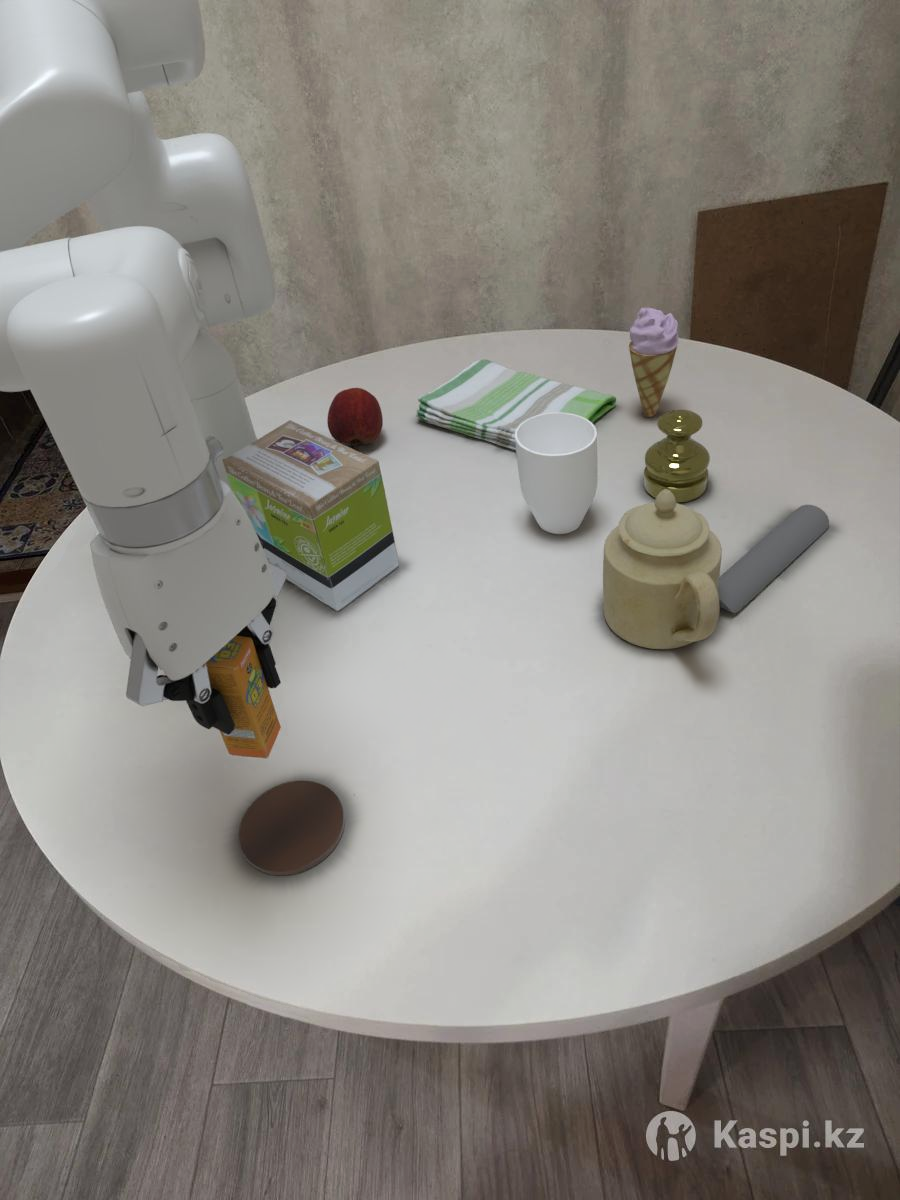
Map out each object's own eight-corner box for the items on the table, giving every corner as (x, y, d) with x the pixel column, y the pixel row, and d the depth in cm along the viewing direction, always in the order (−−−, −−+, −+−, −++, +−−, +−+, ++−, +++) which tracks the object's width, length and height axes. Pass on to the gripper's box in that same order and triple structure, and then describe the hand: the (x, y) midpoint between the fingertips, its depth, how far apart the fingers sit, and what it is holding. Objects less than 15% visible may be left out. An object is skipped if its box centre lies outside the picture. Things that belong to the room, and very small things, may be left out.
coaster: (218, 845, 73) (216, 841, 73) (288, 769, 78) (286, 765, 78) (297, 894, 69) (296, 890, 68) (366, 810, 74) (364, 806, 74)
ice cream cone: (621, 404, 119) (623, 298, 109) (666, 398, 119) (672, 291, 109) (633, 429, 114) (636, 320, 104) (679, 422, 114) (687, 313, 104)
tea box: (254, 564, 102) (217, 457, 92) (318, 521, 107) (290, 415, 97) (337, 615, 93) (307, 504, 83) (403, 566, 98) (382, 455, 88)
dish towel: (484, 370, 131) (482, 348, 129) (618, 403, 119) (619, 380, 117) (413, 423, 122) (409, 400, 120) (551, 465, 110) (550, 441, 108)
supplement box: (271, 760, 64) (233, 669, 58) (229, 756, 65) (186, 666, 58) (286, 726, 67) (251, 634, 60) (245, 722, 67) (206, 631, 61)
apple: (398, 434, 120) (388, 382, 115) (364, 463, 115) (353, 410, 110) (356, 424, 123) (345, 373, 118) (322, 451, 119) (309, 399, 114)
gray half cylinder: (831, 526, 95) (834, 512, 94) (731, 619, 86) (733, 605, 85) (795, 511, 97) (798, 498, 96) (694, 601, 88) (696, 587, 87)
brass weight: (637, 500, 102) (640, 426, 96) (650, 465, 107) (653, 393, 101) (701, 508, 100) (709, 433, 93) (711, 472, 105) (719, 399, 98)
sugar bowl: (770, 629, 84) (795, 503, 75) (698, 689, 80) (714, 563, 70) (650, 563, 94) (658, 443, 84) (579, 613, 89) (579, 493, 79)
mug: (583, 550, 97) (581, 459, 89) (509, 537, 100) (502, 447, 92) (614, 492, 104) (615, 403, 96) (544, 481, 108) (540, 394, 100)
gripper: (212, 415, 57) (279, 615, 70) (-3, 561, 48) (119, 764, 60) (296, 439, 54) (351, 645, 66) (83, 601, 44) (194, 809, 56)
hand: (240, 700), depth 63 cm, fingers closed on supplement box, 4 cm apart
